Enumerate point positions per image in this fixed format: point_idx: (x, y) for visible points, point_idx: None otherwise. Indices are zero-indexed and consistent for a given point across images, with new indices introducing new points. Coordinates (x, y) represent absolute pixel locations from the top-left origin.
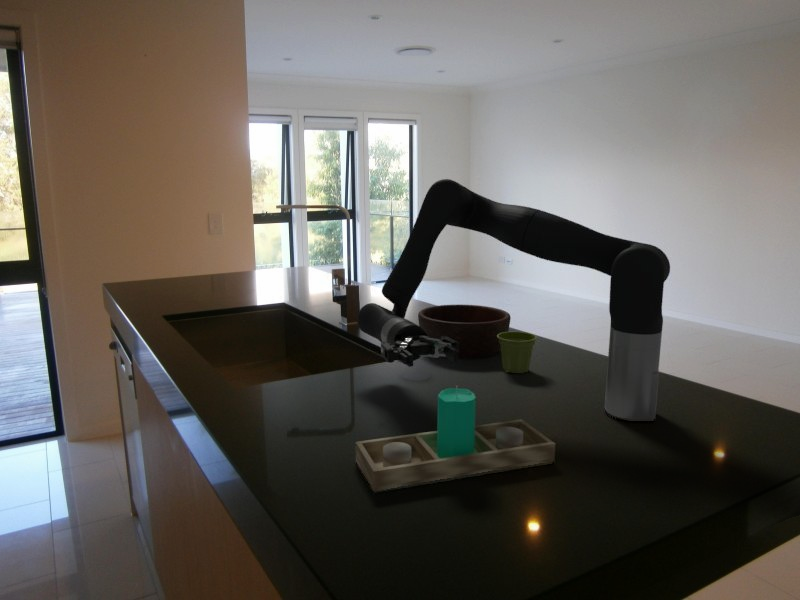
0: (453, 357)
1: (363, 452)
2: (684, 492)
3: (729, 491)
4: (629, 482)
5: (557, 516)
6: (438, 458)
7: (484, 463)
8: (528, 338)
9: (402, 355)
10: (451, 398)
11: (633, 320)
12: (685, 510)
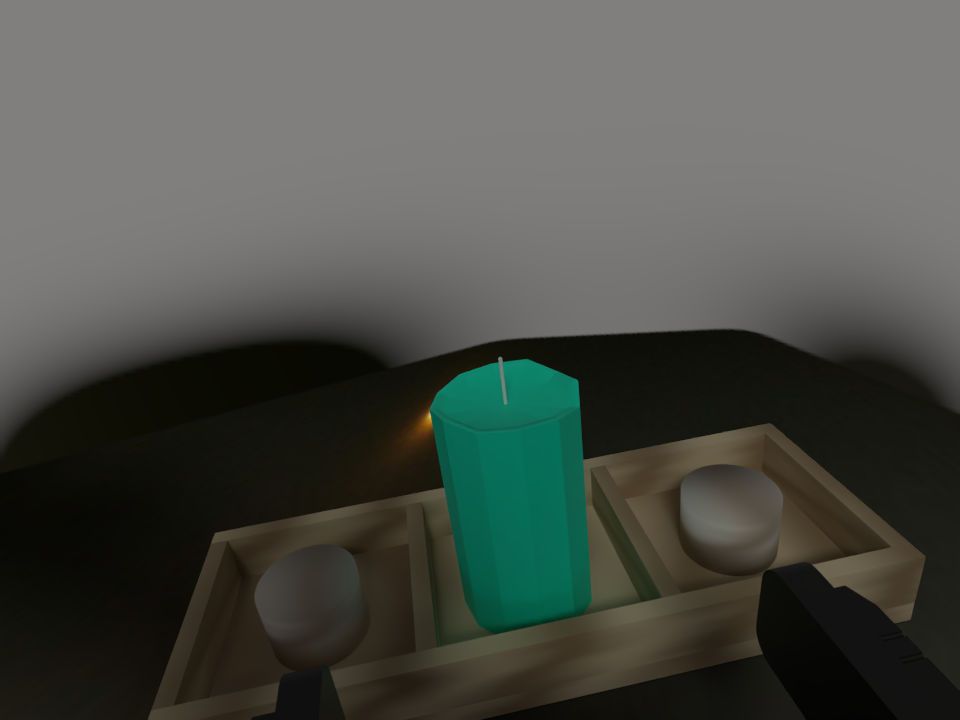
0: (340, 707)
1: (847, 493)
2: (90, 481)
3: (9, 483)
4: (147, 509)
5: (385, 428)
6: (594, 468)
7: None
8: None
9: (909, 641)
10: (527, 397)
11: None
12: (160, 442)
